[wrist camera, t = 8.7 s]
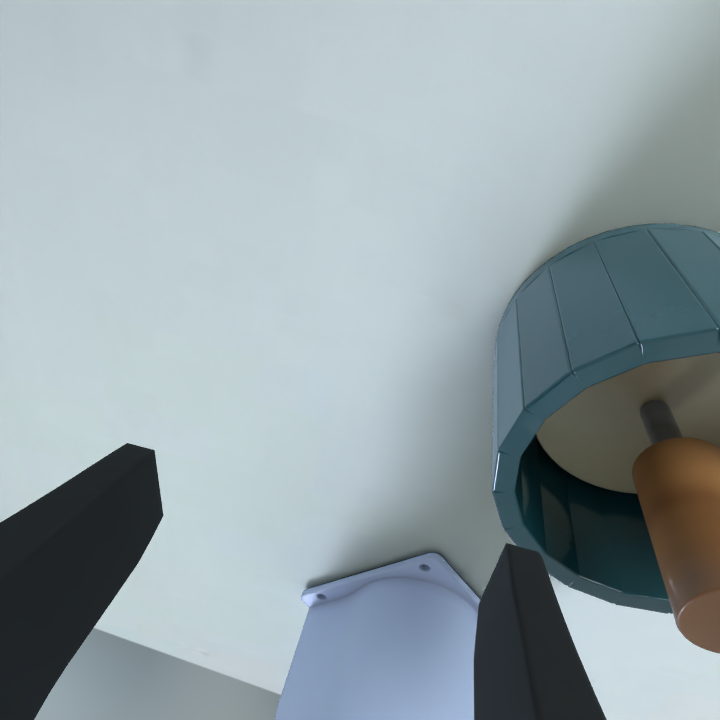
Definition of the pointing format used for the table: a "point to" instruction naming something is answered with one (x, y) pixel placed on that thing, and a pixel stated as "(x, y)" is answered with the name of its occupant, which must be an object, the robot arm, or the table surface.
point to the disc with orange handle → (658, 471)
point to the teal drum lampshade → (584, 369)
